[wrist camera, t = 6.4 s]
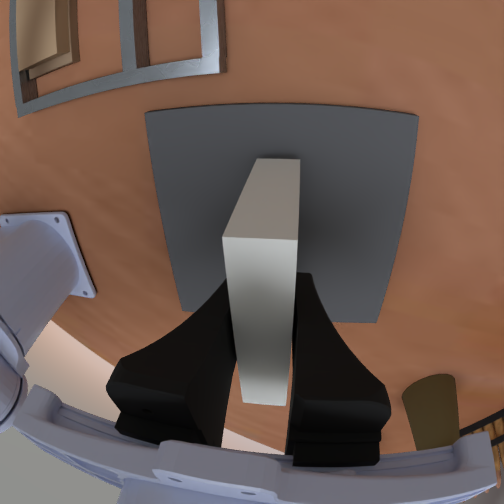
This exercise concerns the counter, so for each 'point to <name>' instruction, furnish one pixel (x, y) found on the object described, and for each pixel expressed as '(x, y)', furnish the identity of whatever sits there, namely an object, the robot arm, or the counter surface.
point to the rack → (128, 57)
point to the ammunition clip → (491, 438)
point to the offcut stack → (46, 35)
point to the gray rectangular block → (264, 277)
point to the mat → (310, 198)
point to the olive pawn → (433, 411)
